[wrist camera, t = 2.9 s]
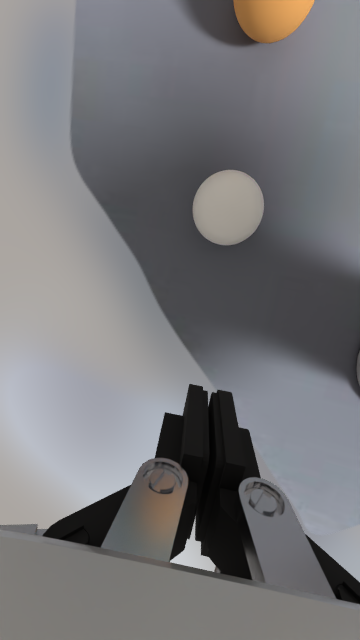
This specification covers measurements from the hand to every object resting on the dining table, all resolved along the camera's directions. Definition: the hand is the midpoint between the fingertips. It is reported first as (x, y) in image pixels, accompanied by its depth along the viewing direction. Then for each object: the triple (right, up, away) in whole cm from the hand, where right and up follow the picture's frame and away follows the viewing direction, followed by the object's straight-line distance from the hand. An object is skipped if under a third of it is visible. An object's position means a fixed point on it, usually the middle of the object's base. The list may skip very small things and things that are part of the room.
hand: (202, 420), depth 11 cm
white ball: (+3, +13, +11) cm, 17 cm away
